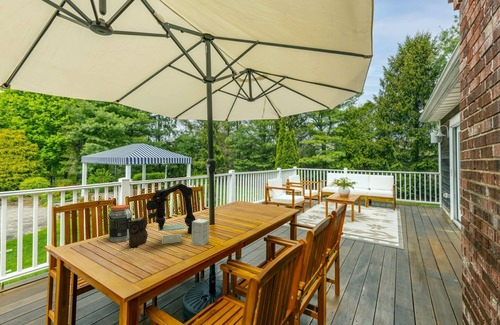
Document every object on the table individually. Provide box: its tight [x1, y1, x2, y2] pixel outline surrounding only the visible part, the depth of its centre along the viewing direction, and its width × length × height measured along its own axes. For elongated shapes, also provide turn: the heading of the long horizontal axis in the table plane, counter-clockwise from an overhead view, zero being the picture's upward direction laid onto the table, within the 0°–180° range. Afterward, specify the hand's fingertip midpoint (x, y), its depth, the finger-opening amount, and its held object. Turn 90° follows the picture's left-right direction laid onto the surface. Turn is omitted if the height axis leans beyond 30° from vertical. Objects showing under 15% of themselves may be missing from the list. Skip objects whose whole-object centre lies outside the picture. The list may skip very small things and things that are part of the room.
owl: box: [128, 216, 149, 249], centre depth 170 cm, size 13×13×20 cm
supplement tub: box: [108, 204, 133, 243], centre depth 184 cm, size 16×16×26 cm
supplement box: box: [191, 218, 210, 246], centre depth 174 cm, size 10×9×17 cm
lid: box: [157, 223, 185, 232], centre depth 171 cm, size 18×9×5 cm, turn 109°
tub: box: [161, 233, 182, 245], centre depth 178 cm, size 14×9×4 cm, turn 110°
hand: (161, 229), depth 169 cm, fingers closed on lid, 4 cm apart
